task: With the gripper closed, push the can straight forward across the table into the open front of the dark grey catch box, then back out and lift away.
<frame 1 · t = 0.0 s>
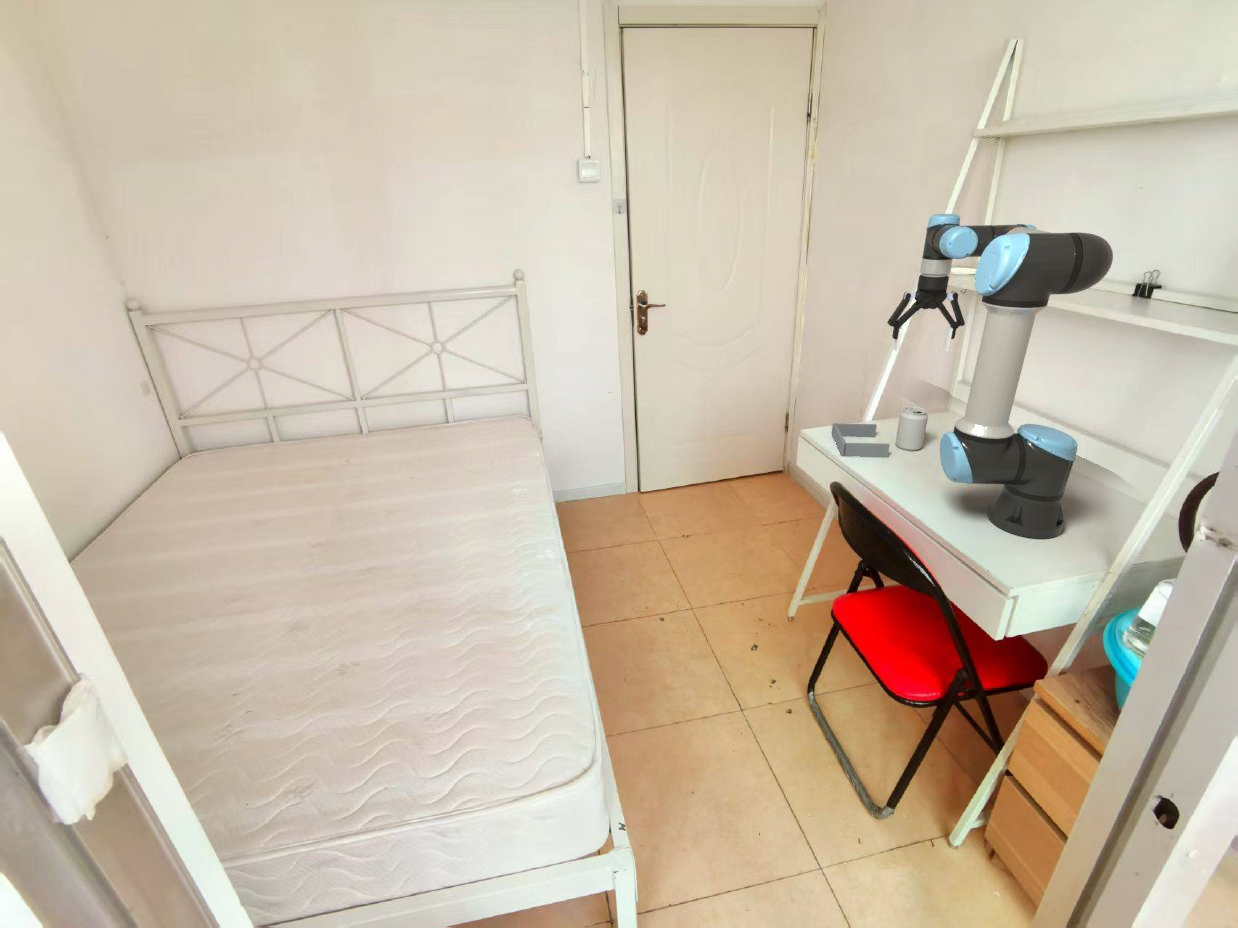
hand: (920, 350, 182), 28 cm above the table, tool pointing down, fingers open, 13 cm apart
can: (908, 447, 189), on the table
catch box: (858, 445, 190), on the table
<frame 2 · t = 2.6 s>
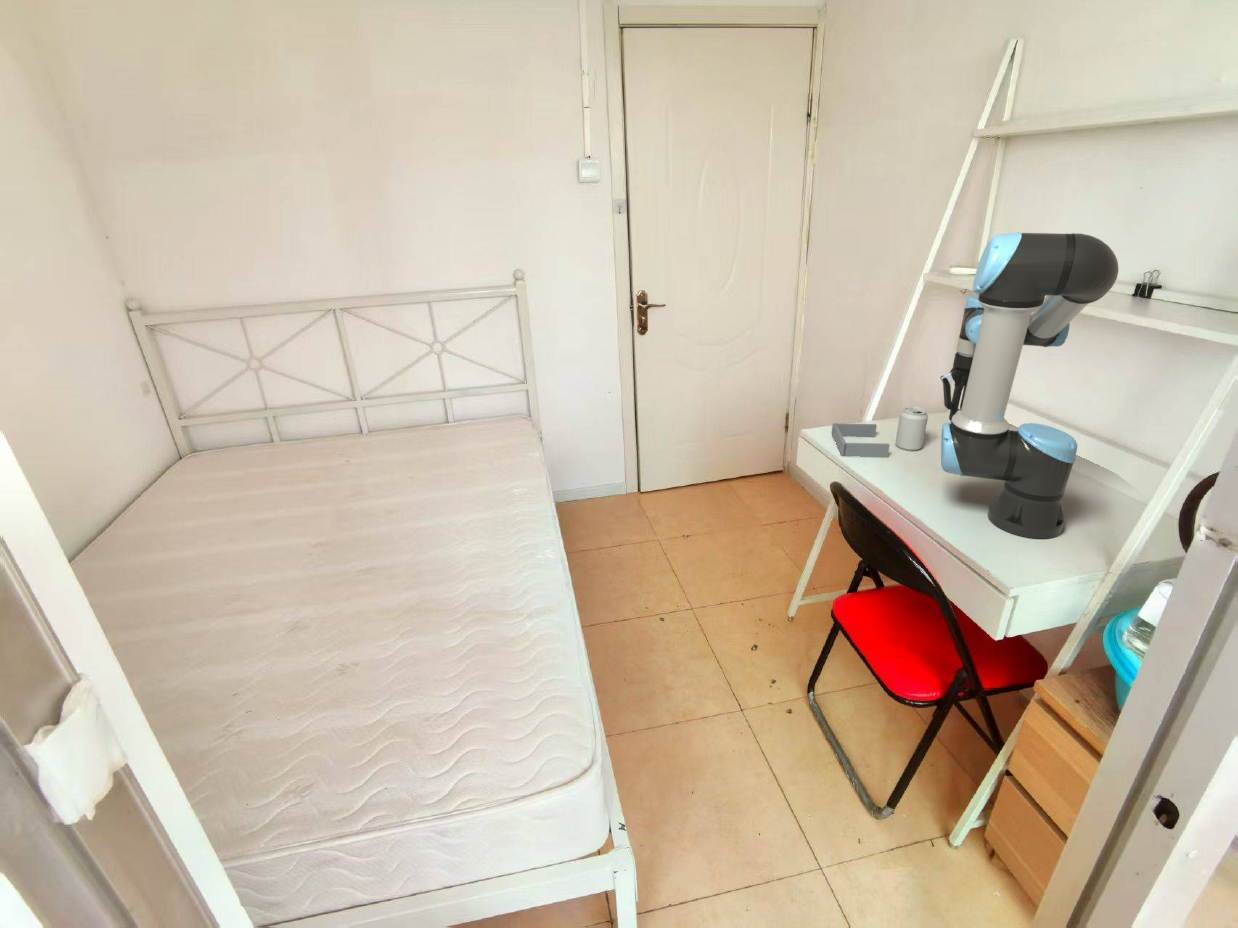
hand: (953, 430, 185), 5 cm above the table, tool pointing down, fingers closed
nothing on the table moved.
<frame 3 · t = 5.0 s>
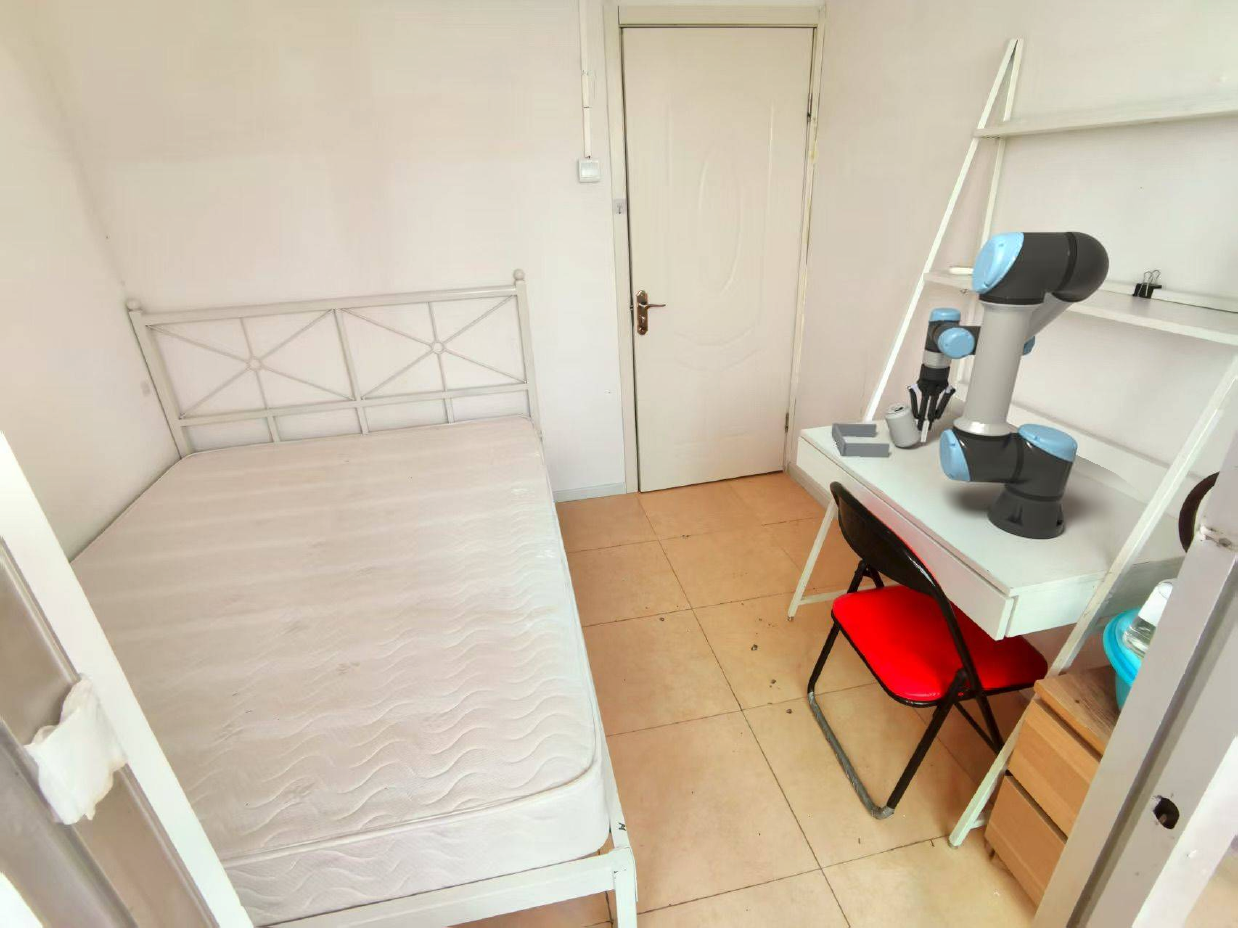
hand: (921, 440, 188), 2 cm above the table, tool pointing down, fingers closed
can: (908, 442, 188), point 1 cm above the table, touching gripper, hand
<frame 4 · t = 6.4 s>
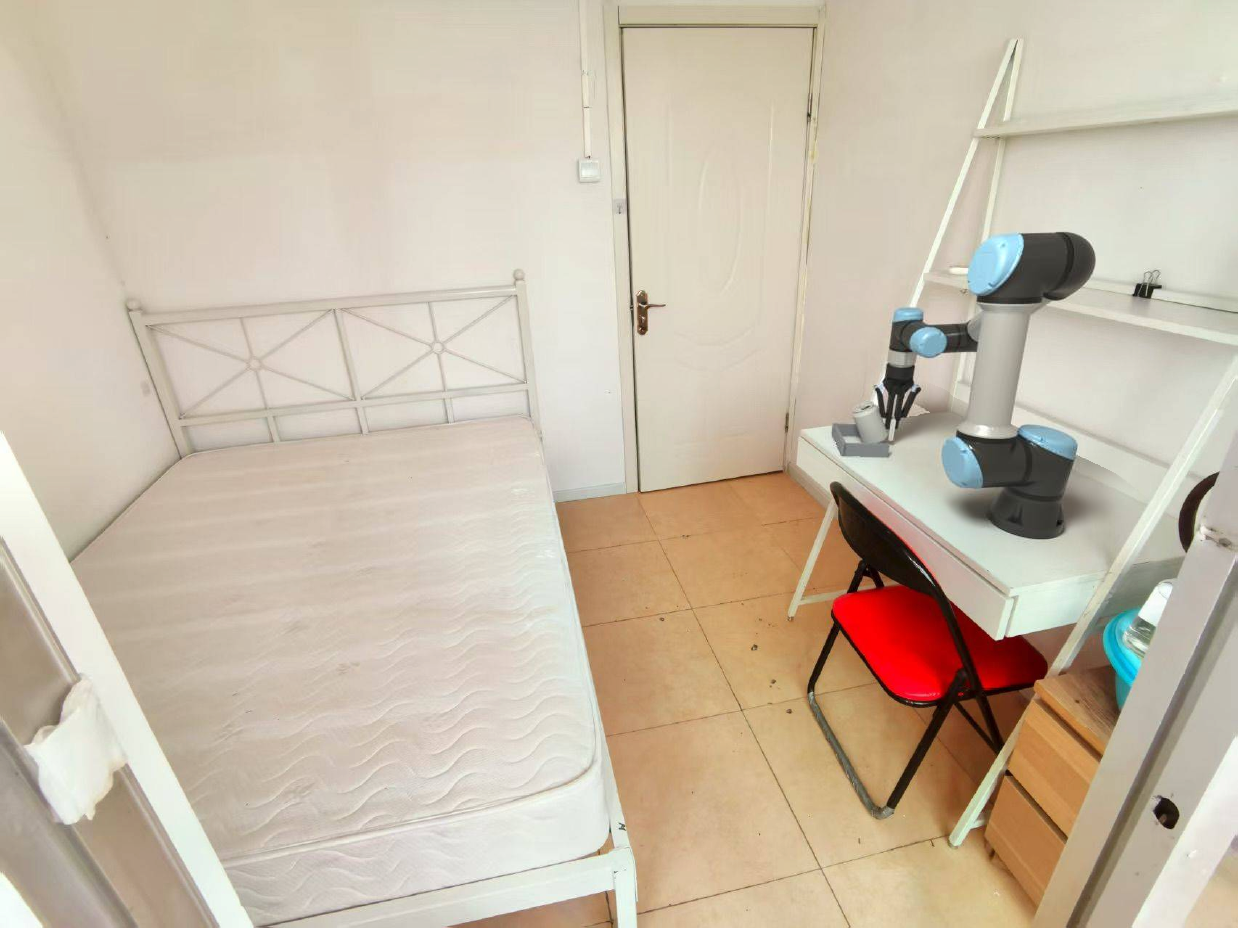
hand: (889, 438, 189), 2 cm above the table, tool pointing down, fingers closed
can: (876, 441, 190), point 1 cm above the table, touching gripper, hand
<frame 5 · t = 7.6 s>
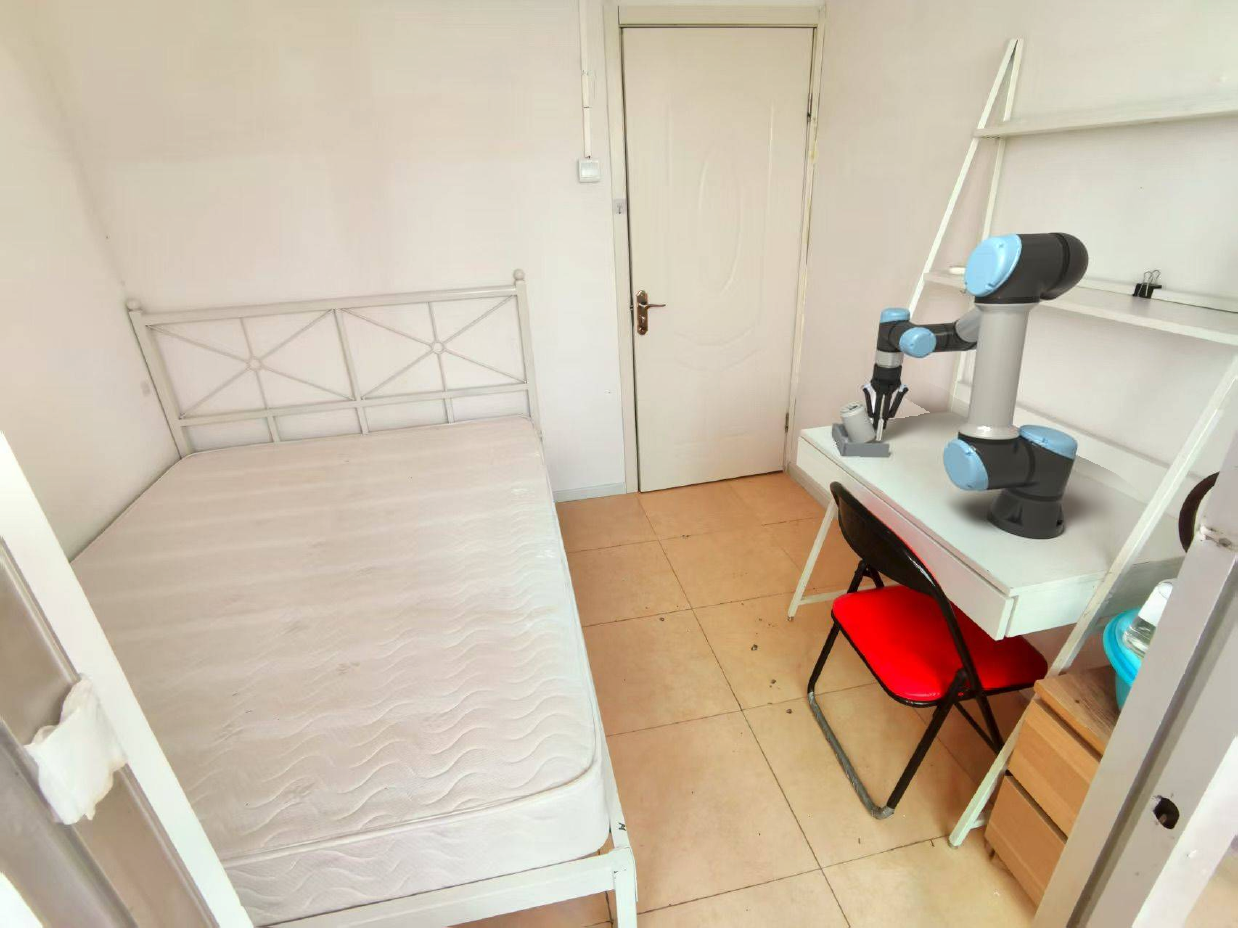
hand: (877, 438, 190), 2 cm above the table, tool pointing down, fingers closed
can: (864, 441, 190), point 1 cm above the table, touching gripper, hand
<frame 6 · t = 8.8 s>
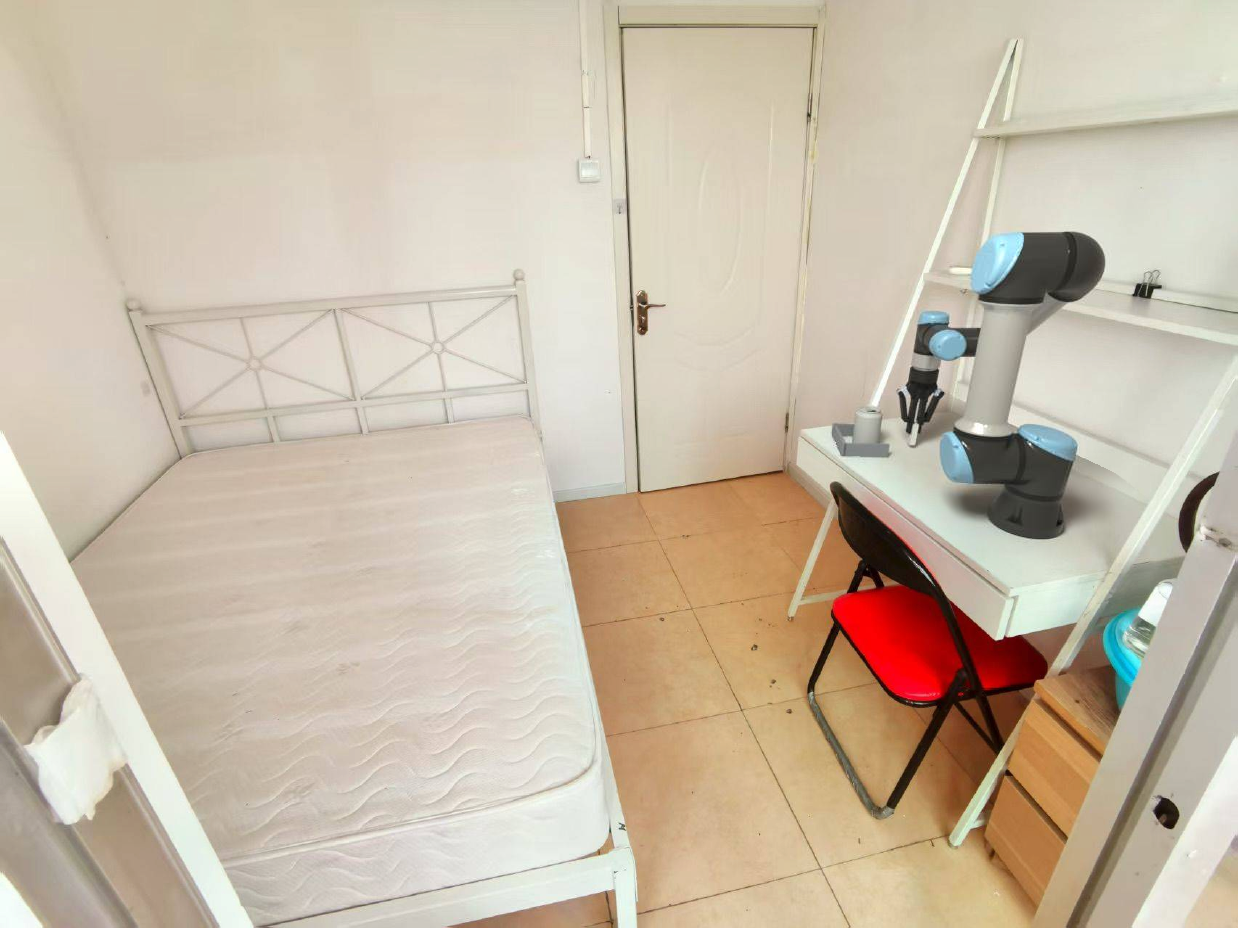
hand: (911, 443, 188), 1 cm above the table, tool pointing down, fingers closed
can: (864, 446, 191), on the table
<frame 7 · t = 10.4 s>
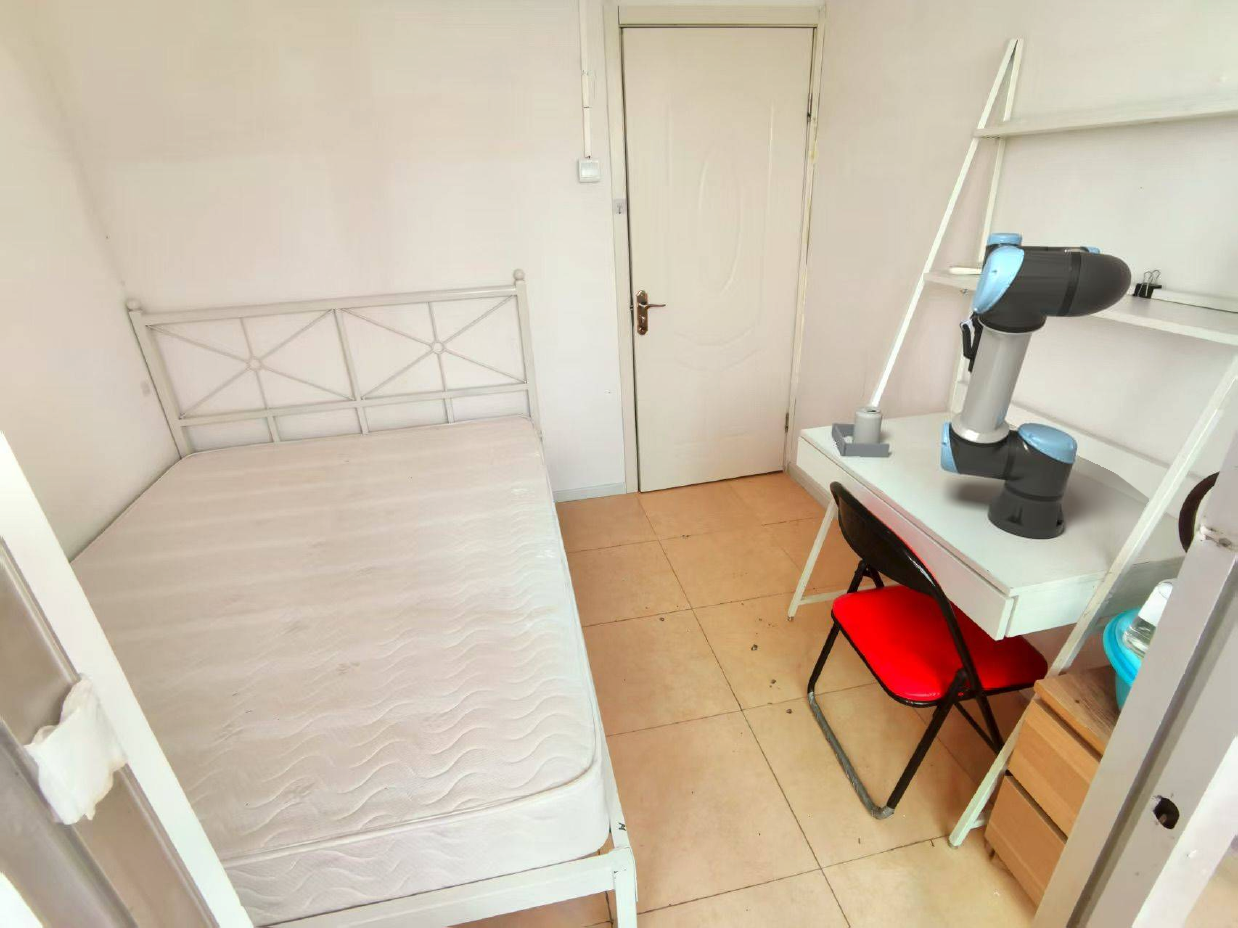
hand: (973, 383, 173), 22 cm above the table, tool pointing down, fingers closed
nothing on the table moved.
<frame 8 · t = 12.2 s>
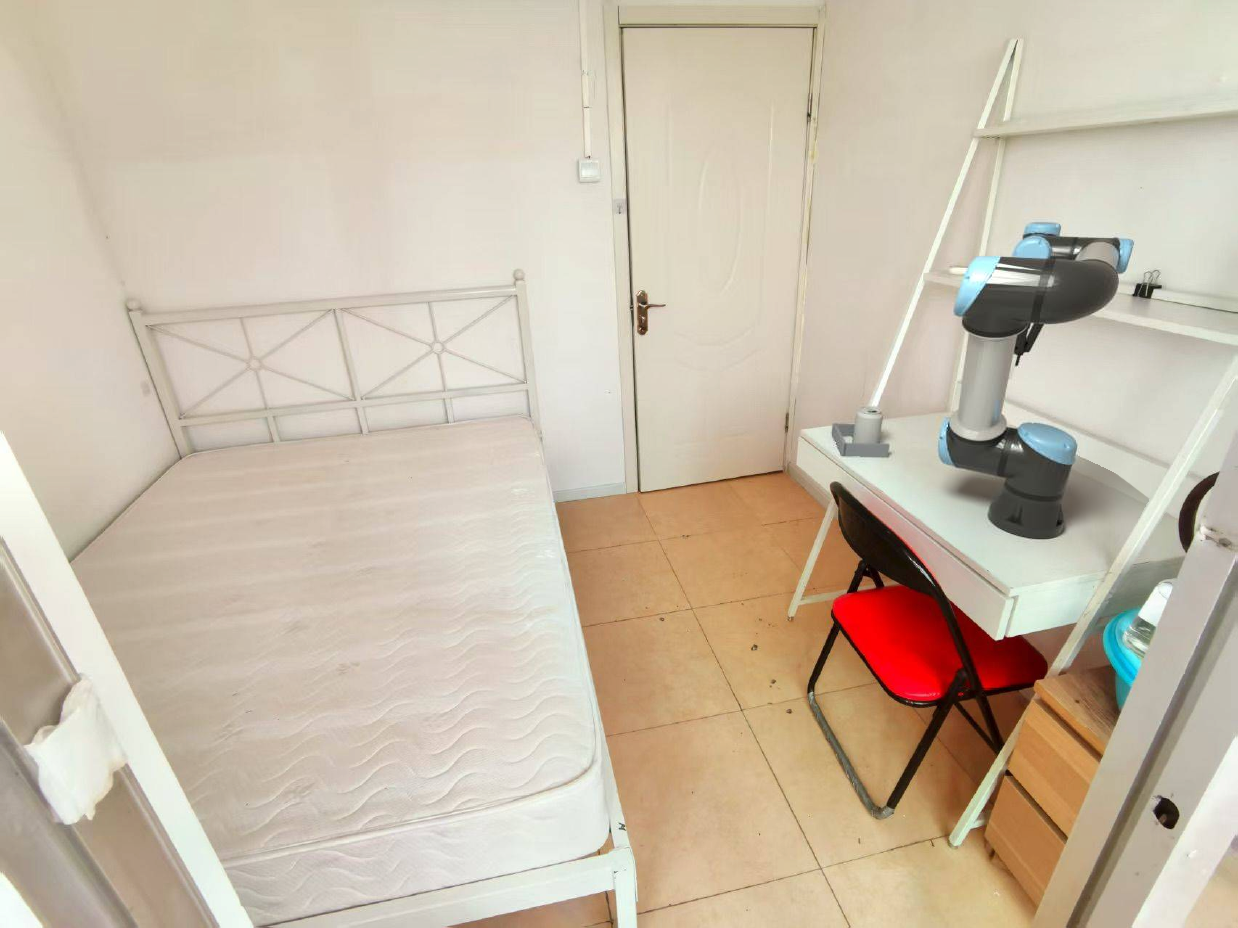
hand: (1006, 377, 169), 24 cm above the table, tool pointing down, fingers closed
nothing on the table moved.
at the end: can inside the target area (2.3 cm from its centre), on the table; can tilted 1° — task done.
